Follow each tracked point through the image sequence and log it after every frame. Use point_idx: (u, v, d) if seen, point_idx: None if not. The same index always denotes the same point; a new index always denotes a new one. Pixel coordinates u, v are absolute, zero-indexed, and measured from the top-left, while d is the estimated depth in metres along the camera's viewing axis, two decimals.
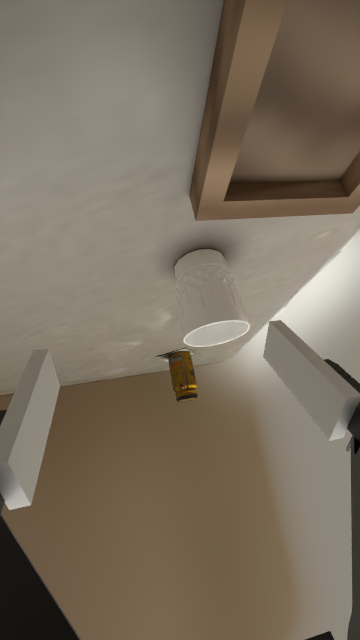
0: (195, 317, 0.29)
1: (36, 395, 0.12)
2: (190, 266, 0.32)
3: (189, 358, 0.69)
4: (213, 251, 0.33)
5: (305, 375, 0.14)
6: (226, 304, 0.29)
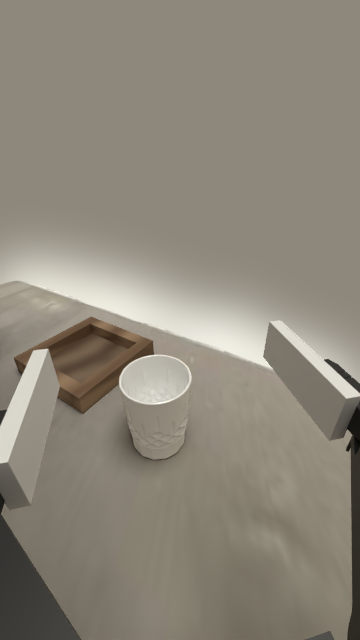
0: None
1: (36, 395, 0.12)
2: None
3: None
4: None
5: (305, 375, 0.14)
6: None
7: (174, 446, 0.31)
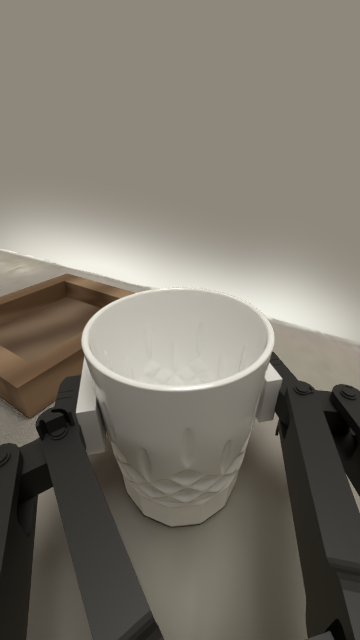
0: None
1: None
2: None
3: None
4: None
5: None
6: None
7: (221, 496, 0.13)
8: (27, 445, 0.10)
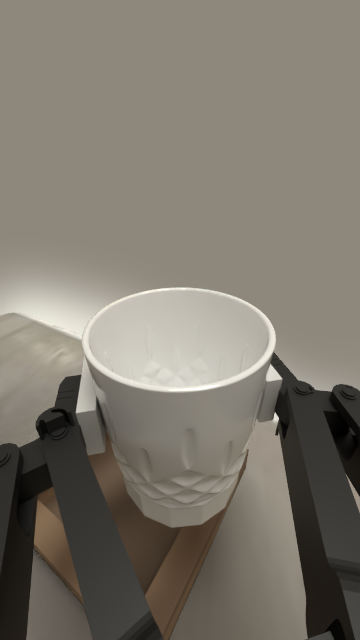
0: None
1: None
2: None
3: None
4: None
5: None
6: None
7: (222, 497, 0.13)
8: (27, 445, 0.10)
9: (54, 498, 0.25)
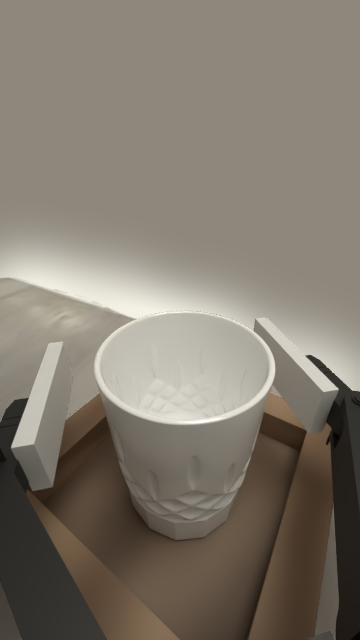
0: None
1: (54, 384, 0.13)
2: None
3: None
4: None
5: (287, 370, 0.14)
6: None
7: (223, 512, 0.14)
8: None
9: (57, 492, 0.16)
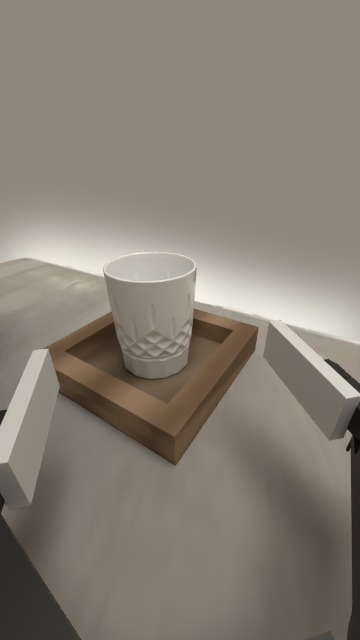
0: None
1: (36, 395, 0.12)
2: None
3: None
4: None
5: (305, 375, 0.14)
6: None
7: (175, 361, 0.25)
8: None
9: None
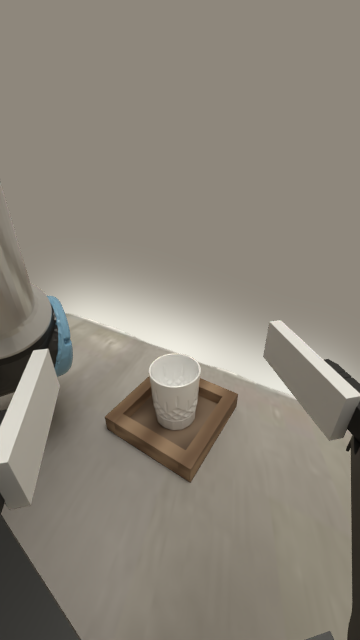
0: None
1: (36, 395, 0.12)
2: None
3: None
4: None
5: (305, 375, 0.14)
6: None
7: (188, 420, 0.43)
8: None
9: (130, 418, 0.46)
